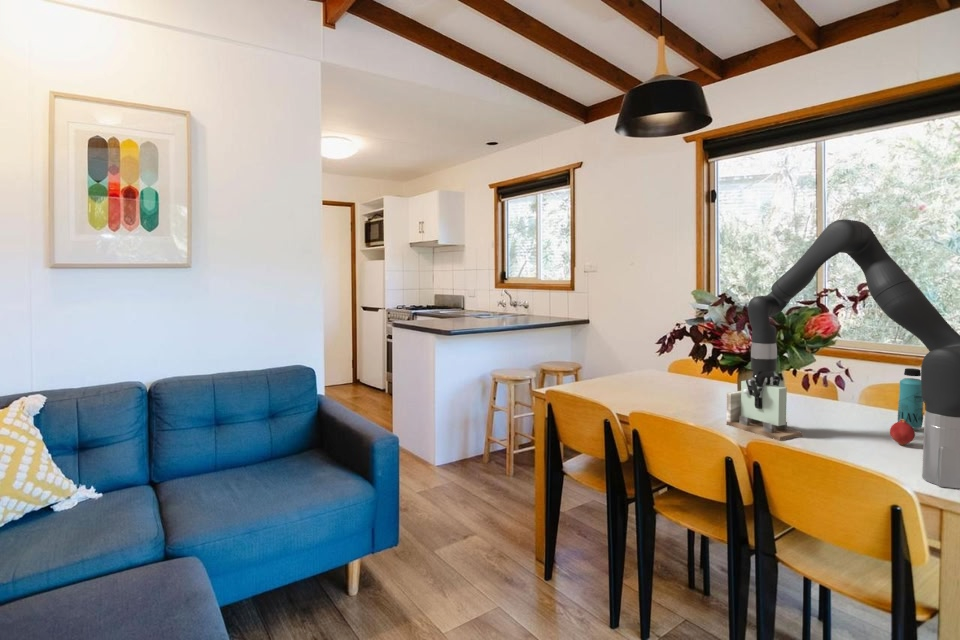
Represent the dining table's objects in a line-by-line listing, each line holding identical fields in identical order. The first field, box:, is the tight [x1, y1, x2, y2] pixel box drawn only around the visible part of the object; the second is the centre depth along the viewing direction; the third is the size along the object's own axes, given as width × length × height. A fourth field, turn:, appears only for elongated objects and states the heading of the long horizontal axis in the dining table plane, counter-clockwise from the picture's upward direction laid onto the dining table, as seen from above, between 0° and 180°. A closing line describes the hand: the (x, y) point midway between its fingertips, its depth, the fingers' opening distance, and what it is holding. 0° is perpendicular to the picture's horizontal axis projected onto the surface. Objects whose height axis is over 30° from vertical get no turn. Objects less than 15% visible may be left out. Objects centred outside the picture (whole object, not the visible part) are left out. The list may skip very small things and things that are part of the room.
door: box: [740, 380, 788, 426], centre depth 170 cm, size 14×4×12 cm, turn 23°
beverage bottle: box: [896, 367, 925, 429], centre depth 167 cm, size 6×7×20 cm
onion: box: [889, 419, 916, 446], centre depth 153 cm, size 6×6×8 cm
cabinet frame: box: [726, 390, 803, 441], centre depth 171 cm, size 20×10×11 cm, turn 23°
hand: (762, 407), depth 170 cm, fingers closed on door, 3 cm apart
